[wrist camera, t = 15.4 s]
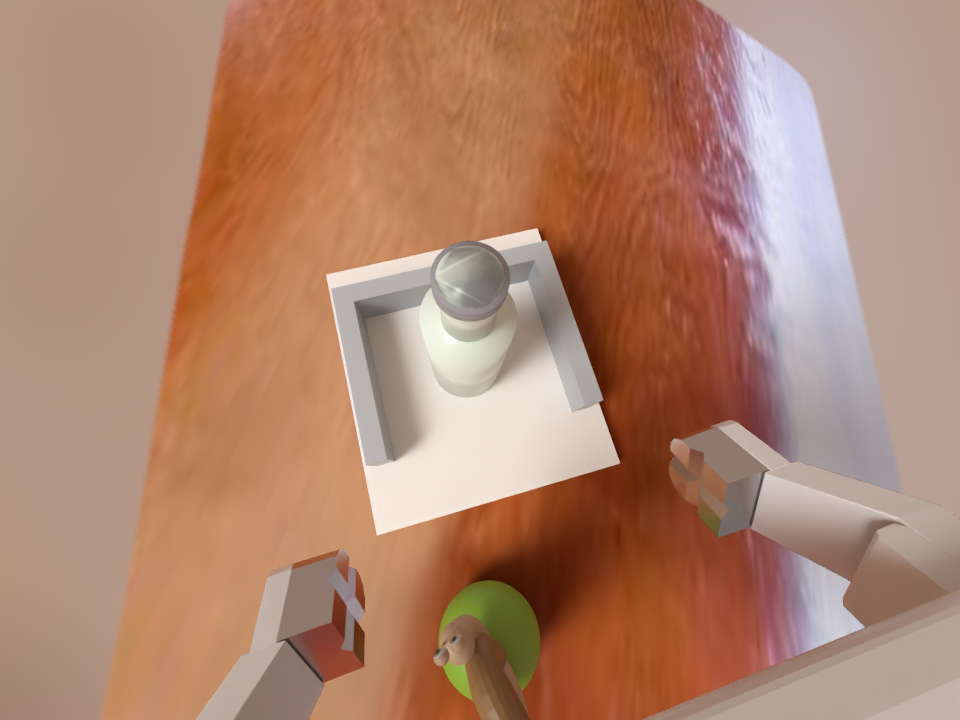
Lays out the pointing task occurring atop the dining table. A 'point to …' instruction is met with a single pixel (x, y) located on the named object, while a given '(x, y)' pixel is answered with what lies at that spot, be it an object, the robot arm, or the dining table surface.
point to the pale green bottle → (468, 317)
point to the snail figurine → (490, 648)
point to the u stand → (465, 421)
